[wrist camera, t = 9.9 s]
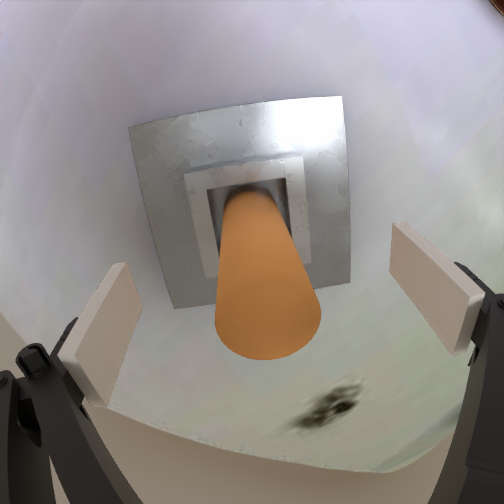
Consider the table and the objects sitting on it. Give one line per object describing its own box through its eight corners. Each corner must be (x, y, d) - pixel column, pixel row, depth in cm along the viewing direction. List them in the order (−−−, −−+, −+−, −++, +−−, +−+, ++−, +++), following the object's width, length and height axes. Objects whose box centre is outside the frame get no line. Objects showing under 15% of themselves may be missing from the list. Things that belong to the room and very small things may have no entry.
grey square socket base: (132, 127, 22) (116, 130, 19) (337, 96, 22) (353, 95, 19) (175, 302, 29) (169, 325, 26) (346, 277, 29) (359, 297, 26)
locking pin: (219, 188, 24) (204, 284, 11) (272, 180, 24) (319, 267, 11) (228, 237, 25) (225, 365, 13) (278, 229, 25) (321, 351, 13)
